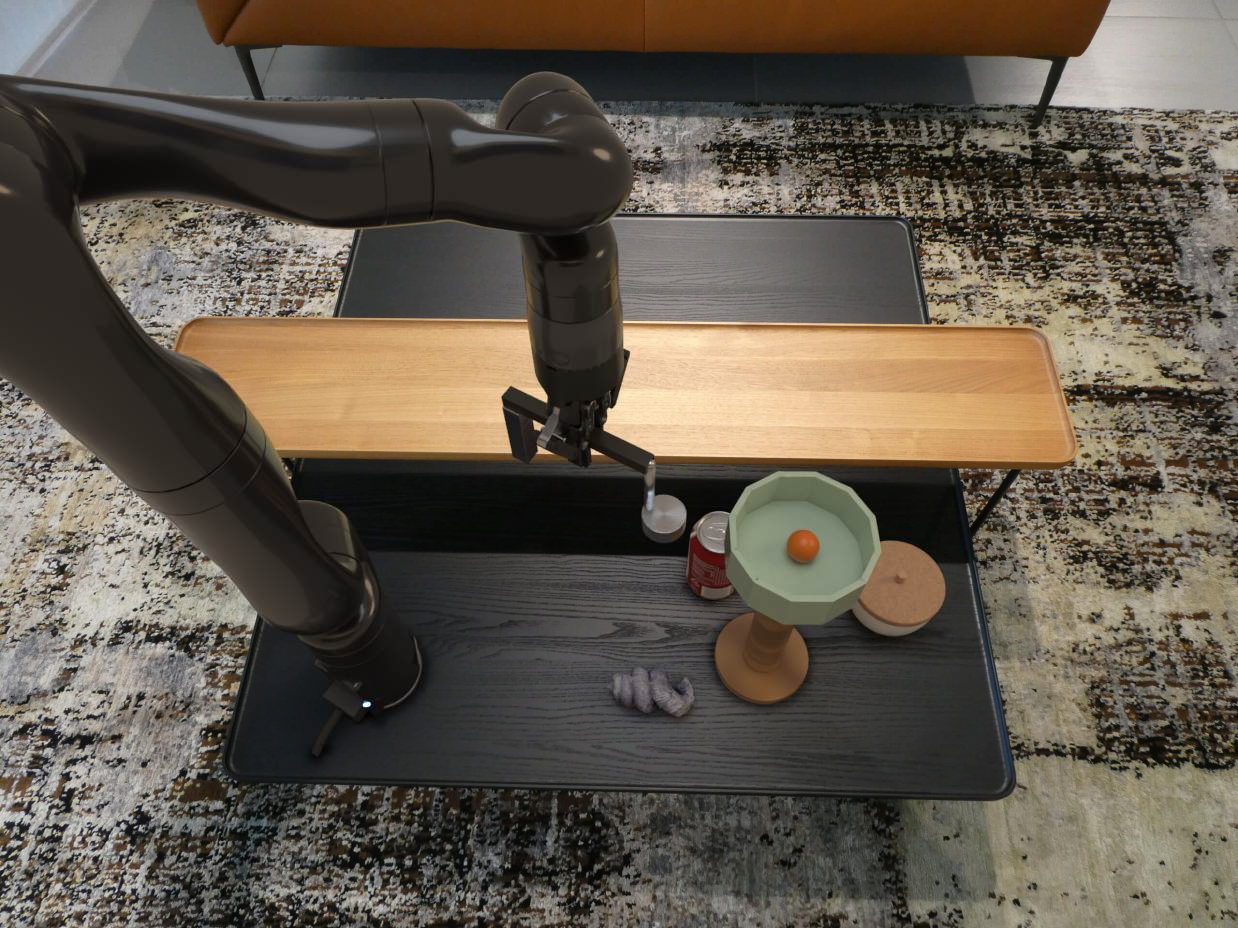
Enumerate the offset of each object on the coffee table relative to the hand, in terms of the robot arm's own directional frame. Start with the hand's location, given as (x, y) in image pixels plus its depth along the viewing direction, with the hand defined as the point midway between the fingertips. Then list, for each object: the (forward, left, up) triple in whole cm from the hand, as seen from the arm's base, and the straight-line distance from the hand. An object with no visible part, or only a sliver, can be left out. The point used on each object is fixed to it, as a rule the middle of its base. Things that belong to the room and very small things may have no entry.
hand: (586, 453), depth 81 cm
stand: (+2, -22, -30) cm, 37 cm away
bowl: (+2, -22, -4) cm, 22 cm away
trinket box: (+16, -32, -30) cm, 46 cm away
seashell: (-9, -13, -30) cm, 34 cm away
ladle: (0, -1, -6) cm, 6 cm away
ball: (+2, -22, -2) cm, 22 cm away
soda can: (+8, -12, -30) cm, 33 cm away
